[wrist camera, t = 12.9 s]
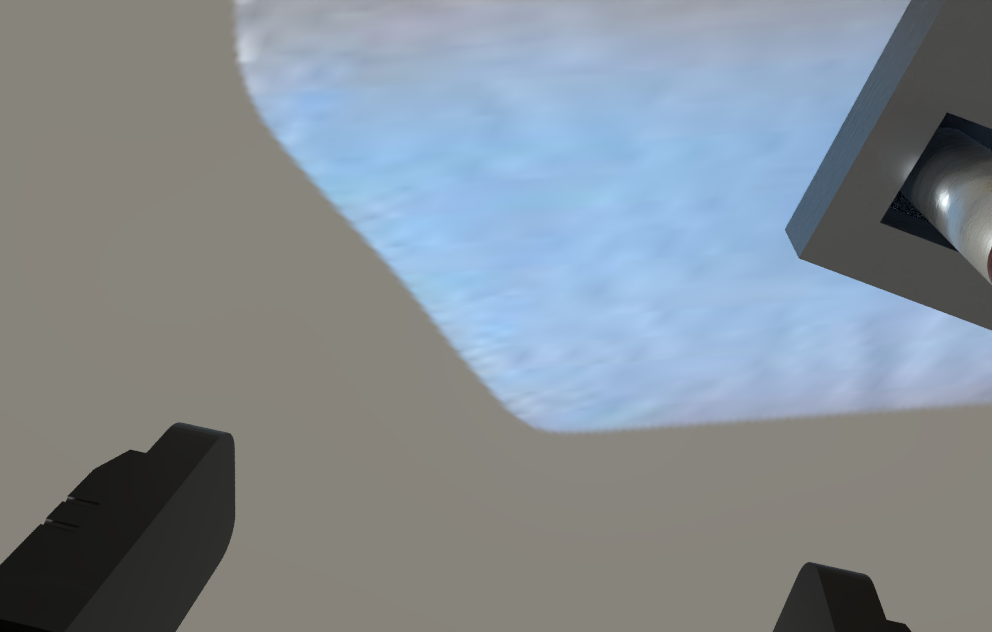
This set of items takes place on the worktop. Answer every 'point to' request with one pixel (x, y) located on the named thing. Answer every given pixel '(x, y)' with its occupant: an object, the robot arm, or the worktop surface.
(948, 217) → the pin
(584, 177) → the worktop surface
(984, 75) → the grey block with hole
